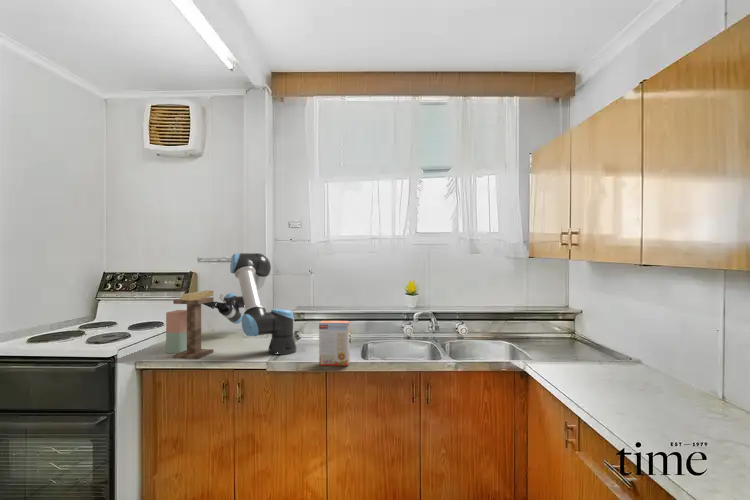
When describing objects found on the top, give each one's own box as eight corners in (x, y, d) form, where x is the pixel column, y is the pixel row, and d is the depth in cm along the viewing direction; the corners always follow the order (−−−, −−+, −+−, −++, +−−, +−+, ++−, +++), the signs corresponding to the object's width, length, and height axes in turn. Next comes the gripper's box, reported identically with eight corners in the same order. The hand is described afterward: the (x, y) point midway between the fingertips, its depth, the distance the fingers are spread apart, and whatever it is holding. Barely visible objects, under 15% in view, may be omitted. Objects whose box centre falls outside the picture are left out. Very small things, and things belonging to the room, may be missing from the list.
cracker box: (349, 363, 193) (349, 320, 193) (347, 366, 187) (347, 322, 187) (321, 362, 194) (321, 320, 195) (318, 365, 188) (318, 322, 189)
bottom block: (190, 348, 223) (190, 329, 223) (179, 353, 213) (179, 333, 213) (178, 348, 224) (178, 329, 224) (166, 352, 214) (166, 332, 214)
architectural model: (350, 343, 237) (350, 331, 237) (339, 342, 240) (339, 330, 240) (352, 342, 241) (352, 330, 241) (342, 341, 243) (342, 329, 243)
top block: (190, 329, 223) (190, 310, 223) (179, 333, 213) (179, 312, 213) (178, 329, 224) (178, 309, 224) (166, 332, 214) (166, 312, 214)
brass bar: (213, 295, 224) (213, 290, 224) (189, 300, 202) (189, 294, 202) (206, 295, 225) (206, 290, 225) (182, 300, 203) (182, 294, 203)
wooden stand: (213, 352, 215) (213, 297, 215) (197, 358, 201) (198, 300, 202) (190, 351, 217) (190, 297, 218) (173, 357, 203) (173, 300, 204)
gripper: (244, 316, 239) (227, 302, 221) (206, 315, 243) (187, 301, 225) (247, 304, 243) (231, 290, 225) (210, 304, 247) (191, 289, 229)
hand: (209, 295), depth 225 cm, fingers open, 13 cm apart
